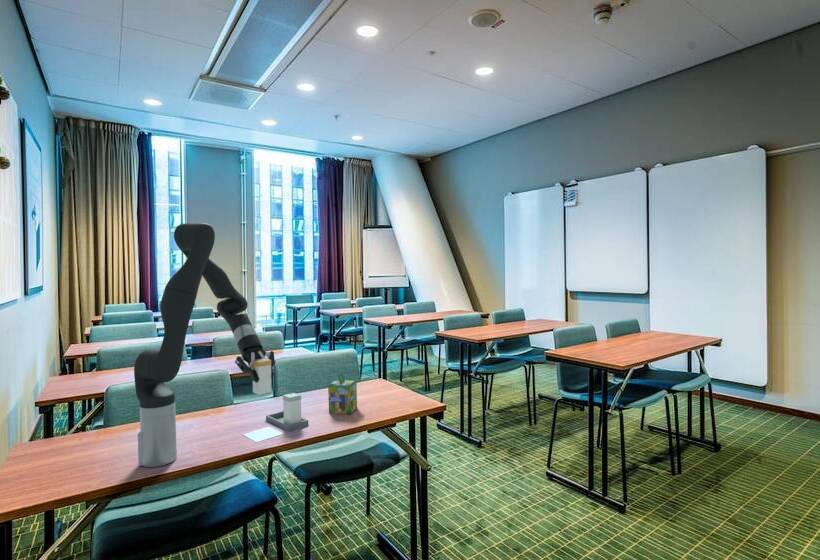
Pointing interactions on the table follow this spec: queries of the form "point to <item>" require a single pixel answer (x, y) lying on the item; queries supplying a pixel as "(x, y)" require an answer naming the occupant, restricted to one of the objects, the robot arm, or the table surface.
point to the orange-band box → (262, 376)
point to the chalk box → (342, 396)
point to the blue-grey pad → (263, 434)
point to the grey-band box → (292, 408)
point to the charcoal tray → (279, 421)
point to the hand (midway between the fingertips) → (264, 379)
